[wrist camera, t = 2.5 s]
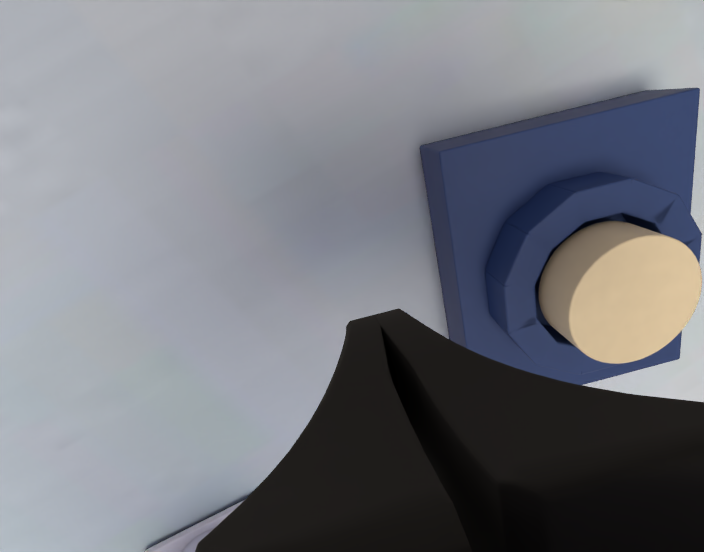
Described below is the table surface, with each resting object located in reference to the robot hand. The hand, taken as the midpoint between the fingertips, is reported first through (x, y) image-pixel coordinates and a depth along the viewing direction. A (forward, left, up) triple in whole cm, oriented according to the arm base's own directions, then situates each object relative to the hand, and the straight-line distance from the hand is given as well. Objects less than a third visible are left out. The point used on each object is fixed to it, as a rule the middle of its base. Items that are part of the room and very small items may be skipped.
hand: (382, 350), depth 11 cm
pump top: (-5, -8, -5) cm, 11 cm away
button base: (-5, -8, -9) cm, 13 cm away
